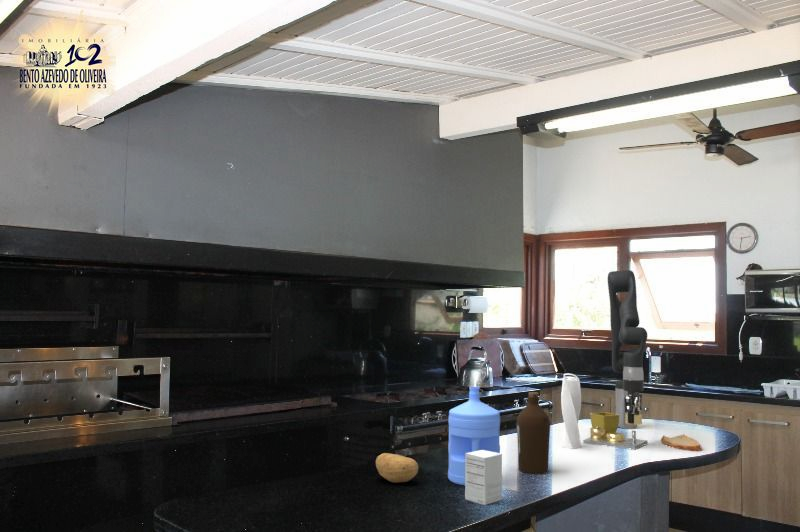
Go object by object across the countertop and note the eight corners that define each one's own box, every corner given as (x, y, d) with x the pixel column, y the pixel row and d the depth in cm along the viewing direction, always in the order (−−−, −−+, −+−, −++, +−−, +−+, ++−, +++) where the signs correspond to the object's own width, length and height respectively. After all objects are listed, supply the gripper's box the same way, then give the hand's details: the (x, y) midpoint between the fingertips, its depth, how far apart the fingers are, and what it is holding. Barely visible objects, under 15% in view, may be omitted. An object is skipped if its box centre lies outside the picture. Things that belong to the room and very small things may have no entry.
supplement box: (481, 495, 196) (482, 449, 196) (502, 500, 190) (502, 453, 191) (464, 499, 191) (464, 452, 191) (485, 505, 185) (485, 457, 186)
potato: (406, 489, 201) (407, 460, 201) (368, 481, 209) (368, 454, 210) (425, 482, 209) (426, 455, 209) (388, 475, 217) (388, 449, 218)
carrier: (598, 437, 287) (598, 423, 288) (647, 443, 275) (647, 429, 276) (583, 443, 274) (583, 428, 275) (634, 449, 263) (634, 434, 263)
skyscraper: (573, 450, 261) (572, 374, 262) (556, 446, 266) (556, 372, 268) (585, 447, 266) (585, 373, 267) (568, 444, 271) (568, 371, 273)
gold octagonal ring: (628, 422, 275) (628, 412, 275) (643, 423, 272) (643, 414, 272) (623, 423, 271) (623, 414, 271) (638, 425, 267) (638, 415, 267)
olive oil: (552, 468, 229) (552, 391, 231) (546, 475, 219) (547, 395, 221) (520, 465, 233) (520, 389, 235) (513, 472, 223) (513, 393, 225)
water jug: (446, 474, 220) (447, 384, 222) (497, 475, 219) (497, 385, 221) (448, 486, 204) (449, 389, 206) (502, 487, 204) (503, 390, 205)
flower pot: (589, 434, 294) (589, 412, 295) (605, 433, 298) (605, 411, 298) (603, 438, 286) (603, 415, 287) (620, 436, 290) (620, 414, 290)
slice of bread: (699, 453, 260) (699, 442, 260) (651, 446, 271) (650, 436, 272) (713, 446, 274) (713, 436, 274) (666, 440, 285) (666, 431, 286)
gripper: (629, 376, 280) (630, 419, 279) (617, 379, 269) (617, 423, 268) (648, 378, 276) (649, 421, 275) (636, 380, 264) (637, 425, 263)
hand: (633, 422), depth 271 cm, fingers closed on gold octagonal ring, 5 cm apart
